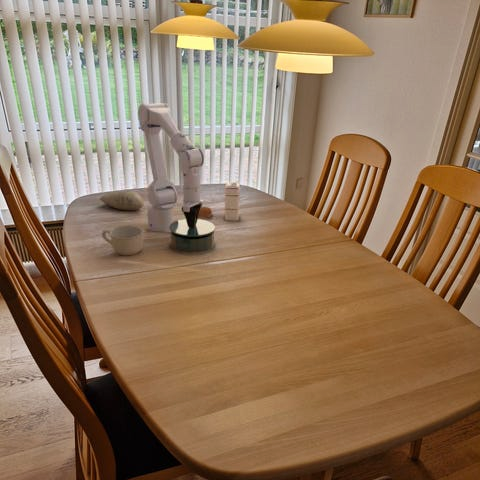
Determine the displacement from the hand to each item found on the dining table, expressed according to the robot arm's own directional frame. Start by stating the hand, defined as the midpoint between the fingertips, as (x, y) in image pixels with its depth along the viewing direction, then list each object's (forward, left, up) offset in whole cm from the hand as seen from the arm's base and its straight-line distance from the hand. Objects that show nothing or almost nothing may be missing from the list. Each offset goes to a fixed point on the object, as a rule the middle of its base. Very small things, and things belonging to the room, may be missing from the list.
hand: (192, 225), depth 155 cm
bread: (-5, +31, -8) cm, 32 cm away
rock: (-39, +31, -8) cm, 50 cm away
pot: (0, 0, -8) cm, 8 cm away
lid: (0, 0, -1) cm, 1 cm away
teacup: (-21, -12, -8) cm, 25 cm away
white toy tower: (+8, +32, -8) cm, 34 cm away
